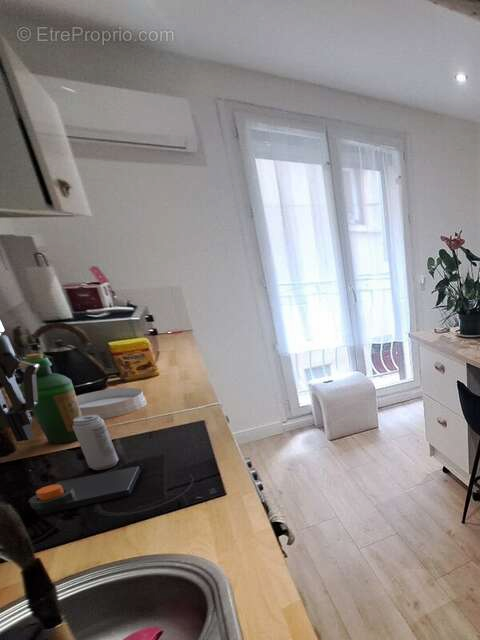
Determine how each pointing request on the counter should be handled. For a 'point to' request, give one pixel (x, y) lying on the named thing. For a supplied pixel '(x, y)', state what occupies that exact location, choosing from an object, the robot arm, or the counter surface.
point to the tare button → (49, 492)
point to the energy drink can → (95, 442)
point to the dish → (111, 402)
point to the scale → (89, 490)
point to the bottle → (54, 402)
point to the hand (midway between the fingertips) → (25, 438)
